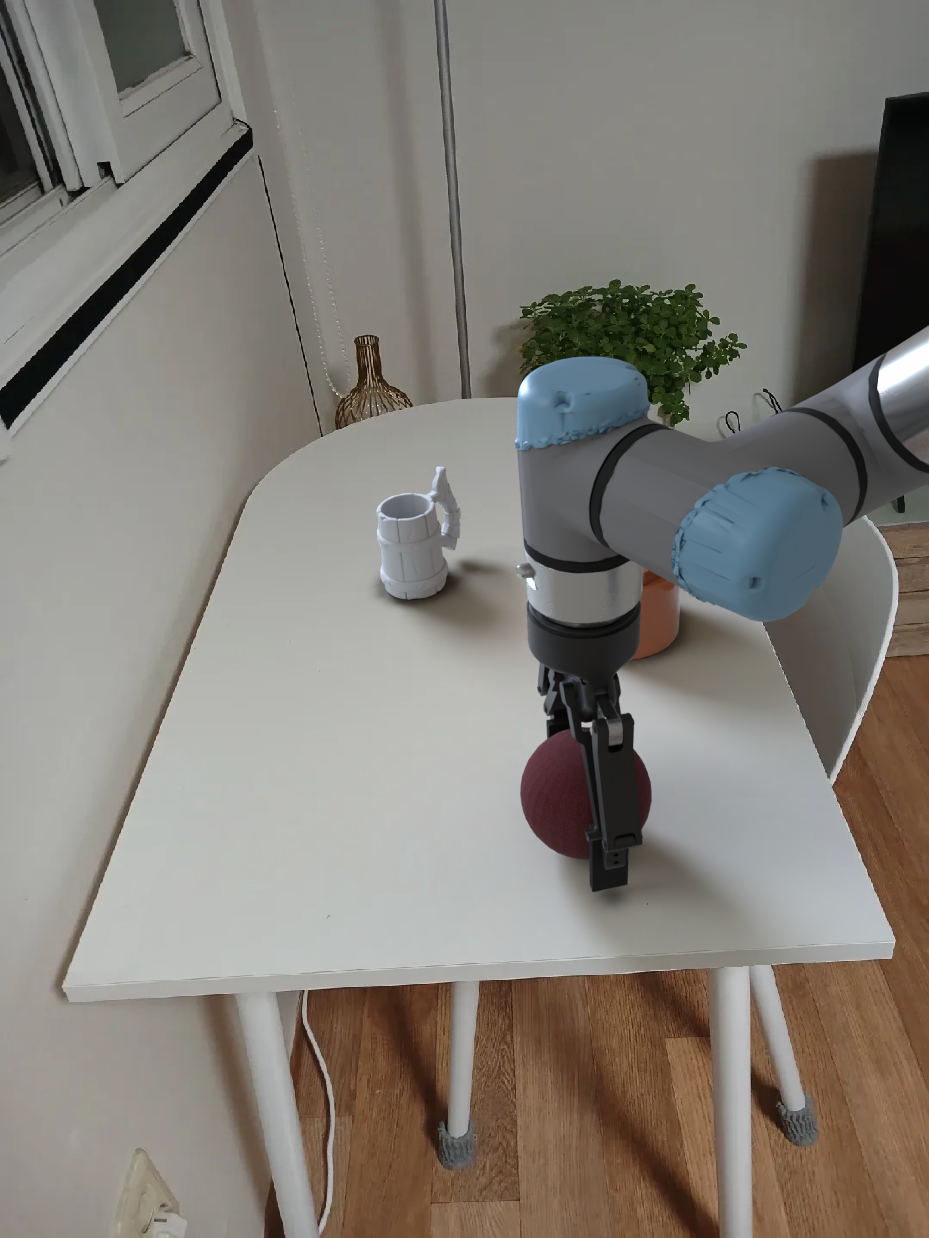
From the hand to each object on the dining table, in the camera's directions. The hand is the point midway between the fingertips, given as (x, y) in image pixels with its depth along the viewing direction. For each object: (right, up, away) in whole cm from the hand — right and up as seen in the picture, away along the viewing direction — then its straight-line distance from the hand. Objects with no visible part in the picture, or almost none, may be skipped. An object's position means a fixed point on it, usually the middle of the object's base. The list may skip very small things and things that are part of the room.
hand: (585, 828), depth 75 cm
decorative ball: (0, -1, +1) cm, 1 cm away
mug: (-14, +22, +35) cm, 43 cm away
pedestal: (+6, +16, +23) cm, 29 cm away
